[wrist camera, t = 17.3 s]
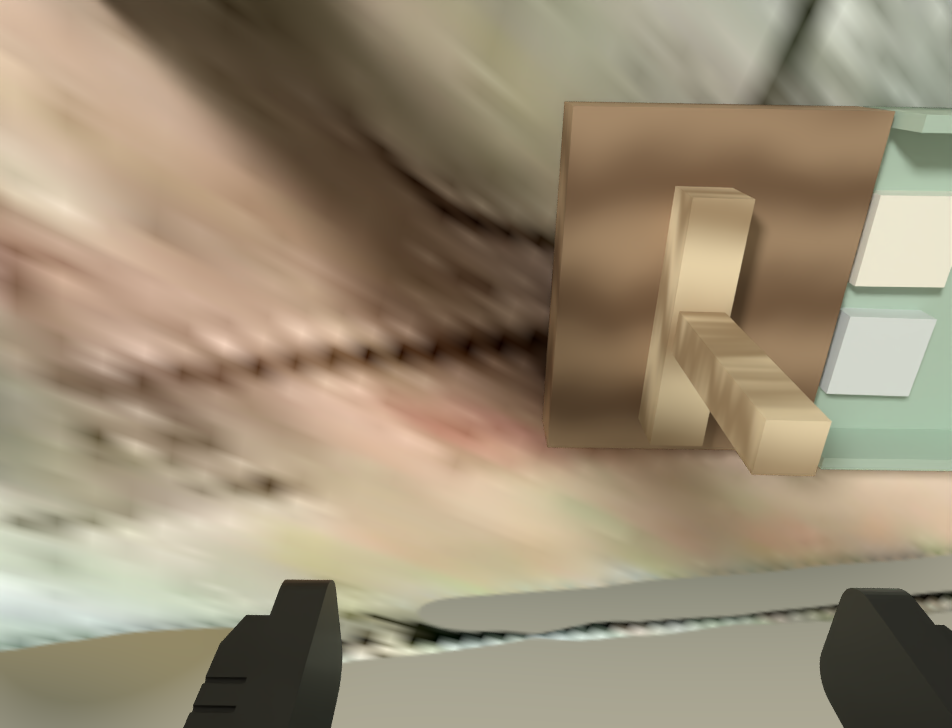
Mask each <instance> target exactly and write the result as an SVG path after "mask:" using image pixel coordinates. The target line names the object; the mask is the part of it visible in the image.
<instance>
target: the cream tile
mask: <svg viewBox="0 0 952 728" xmlns="http://www.w3.org/2000/svg"><path fill="white" fill-rule="evenodd" d="M951 267H952V191H906V190H873V193H872V197H871V200H870V204H869V208H868V211H867V215H866V218H865V222H864V225H863V229H862V233H861V236H860V240H859V243H858V247H857V250H856V254H855V258H854V261H853V265H852V268H851V272H850V276H849V279H848V282H849V283H850V284H852V285H854V286H872V287H945V284H946V281H947V278H948V275H949V272H950V270H951Z"/></svg>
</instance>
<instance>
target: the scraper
mask: <svg viewBox="0 0 952 728" xmlns="http://www.w3.org/2000/svg"><path fill="white" fill-rule="evenodd" d="M754 204H755V199H754V198H752V197H750V196H748V195H746V194H744V193H742V192H740V191H738V190H736V189H734V188H722V187H688V186H675V192H674V198H673V205H672V211H671V217H670V223H669V230H668V236H667V242H666V248H665V255H664V261H663V267H662V273H661V279H660V286H659V292H658V298H657V304H656V311H655V317H654V323H653V329H652V336H651V342H650V348H649V354H648V361H647V367H646V373H645V379H644V385H643V392H642V398H641V404H640V410H639V417H638V419H639V421H640V423H641V426H642V428H643V430H644V432H645V435H646V437H647V439H648V441H649V443H650V445H670V446H702V445H703V440H704V436H705V431H706V427H707V422H708V417H709V413H710V412H711V414H712V415H713V417H714V418H715V420H716V421H717V423H718V424H719V426H720V427H721V429H722V430H723V432H724V433H725V435H726V436H727V438H728V439H729V441H730V442H731V444H732V445H733V447H734V448H735V450H736V451H737V453H738V454H739V456H740V457H741V459H742V460H743V462H744V464H745V465H746V467H747V468H748V470H749V471H750V473H751V474H752V475H788V476H815V474H816V471H817V467H818V464H819V461H820V458H821V455H822V451H823V448H824V445H825V442H826V439H827V435H828V432H829V429H830V426H831V423H832V421H831V420H830V419H829V418H828V417H827V416H826V415H825V414H824V413H823V412H822V411H821V410H820V409H819V408H818V407H817V406H816V405H815V404H814V403H813V402H812V401H811V400H810V399H809V398H808V397H807V396H806V395H805V394H804V393H803V392H802V391H801V390H800V388H799V387H798V386H797V385H796V384H795V383H794V382H793V381H792V380H791V379H790V378H789V377H788V376H787V375H786V374H785V373H784V372H783V371H782V370H781V369H780V368H779V367H778V366H777V365H776V364H775V363H774V362H773V361H772V360H771V359H770V358H769V357H768V356H767V355H766V354H765V353H764V352H763V351H762V350H761V349H760V348H759V346H758V345H757V344H756V343H755V342H754V341H753V340H752V339H751V338H750V337H749V336H748V335H747V334H746V333H745V332H744V331H743V330H742V329H741V328H740V327H739V326H738V325H737V324H736V323H735V322H734V321H733V320H732V319H731V318H730V315H731V310H732V306H733V301H734V297H735V292H736V287H737V283H738V278H739V273H740V269H741V264H742V259H743V255H744V250H745V245H746V241H747V236H748V232H749V227H750V222H751V218H752V213H753V208H754Z"/></svg>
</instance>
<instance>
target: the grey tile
mask: <svg viewBox="0 0 952 728" xmlns="http://www.w3.org/2000/svg"><path fill="white" fill-rule="evenodd" d="M936 321H937V319H935V318H934V317H932V316H930V315H928V314H927V313H925V312H923V311H921V310H902V309H873V308H843V307H841V308H840V311H839V315H838V318H837V322H836V326H835V329H834V333H833V336H832V340H831V343H830V347H829V351H828V354H827V358H826V361H825V365H824V368H823V372H822V376H821V379H820V383H819V387H820V388H821V389H822V390H823V391H824V392H825V393H826V394H849V395H880V396H909V394H910V391H911V388H912V385H913V383H914V380H915V377H916V375H917V372H918V369H919V367H920V364H921V361H922V359H923V356H924V353H925V351H926V348H927V345H928V343H929V340H930V337H931V335H932V332H933V329H934V327H935V324H936Z"/></svg>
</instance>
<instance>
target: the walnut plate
mask: <svg viewBox="0 0 952 728" xmlns="http://www.w3.org/2000/svg"><path fill="white" fill-rule="evenodd" d="M894 115H895V111H889V110H881V109H874V108H866V107H858V106H803V105H744V104H684V103H625V102H564V117H563V131H562V145H561V159H560V174H559V188H558V202H557V216H556V231H555V245H554V259H553V274H552V288H551V302H550V316H549V331H548V345H547V359H546V373H545V388H544V402H543V416H542V420H543V426H544V431H545V437H546V442H547V447H554V448H629V449H704V450H735V448H734V447H733V445H732V444H731V442H730V441H729V439H728V438H727V436H726V435H725V433H724V432H723V430H722V429H721V427H720V426H719V424H718V423H717V421H716V420H715V418H714V417H713V415H712V414H711V412H710V413H709V417H708V422H707V427H706V431H705V436H704V440H703V445H702V446H670V445H650V443H649V441H648V439H647V437H646V435H645V432H644V430H643V428H642V426H641V423H640V421H639V419H638V417H639V410H640V404H641V398H642V392H643V385H644V379H645V373H646V367H647V361H648V354H649V348H650V342H651V336H652V329H653V323H654V317H655V311H656V304H657V298H658V292H659V286H660V279H661V273H662V267H663V261H664V255H665V248H666V242H667V236H668V230H669V223H670V217H671V211H672V205H673V198H674V192H675V186H688V187H722V188H734V189H736V190H738V191H740V192H742V193H744V194H746V195H748V196H750V197H752V198H754V199H755V204H754V208H753V213H752V218H751V222H750V227H749V232H748V236H747V241H746V245H745V250H744V255H743V259H742V264H741V269H740V273H739V278H738V283H737V287H736V292H735V297H734V301H733V306H732V310H731V315H730V318H731V319H732V320H733V321H734V322H735V323H736V324H737V325H738V326H739V327H740V328H741V329H742V330H743V331H744V332H745V333H746V334H747V335H748V336H749V337H750V338H751V339H752V340H753V341H754V342H755V343H756V344H757V345H758V346H759V348H760V349H761V350H762V351H763V352H764V353H765V354H766V355H767V356H768V357H769V358H770V359H771V360H772V361H773V362H774V363H775V364H776V365H777V366H778V367H779V368H780V369H781V370H782V371H783V372H784V373H785V374H786V375H787V376H788V377H789V378H790V379H791V380H792V381H793V382H794V383H795V384H796V385H797V386H798V387H799V388H800V390H801V391H802V392H803V393H804V394H805V395H806V396H807V397H808V398H809V399H810V400H811V401H812V402H813V403H814V401H815V397H816V393H817V390H818V386H819V383H820V379H821V376H822V372H823V368H824V365H825V361H826V358H827V354H828V351H829V347H830V343H831V340H832V336H833V333H834V329H835V326H836V322H837V318H838V315H839V311H840V308H841V304H842V301H843V297H844V293H845V290H846V286H847V283H848V279H849V276H850V272H851V268H852V265H853V261H854V258H855V254H856V250H857V247H858V243H859V240H860V236H861V233H862V229H863V225H864V222H865V218H866V215H867V211H868V208H869V204H870V200H871V197H872V193H873V190H874V186H875V183H876V179H877V175H878V172H879V168H880V165H881V161H882V158H883V154H884V150H885V147H886V143H887V140H888V136H889V133H890V129H891V125H892V122H893V118H894Z"/></svg>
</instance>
